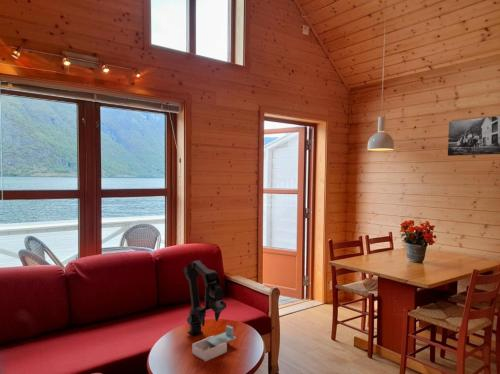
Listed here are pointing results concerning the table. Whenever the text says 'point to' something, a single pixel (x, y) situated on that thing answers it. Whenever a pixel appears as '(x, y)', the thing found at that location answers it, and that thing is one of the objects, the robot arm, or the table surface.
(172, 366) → the table surface
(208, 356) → the parts tub
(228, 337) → the lid
